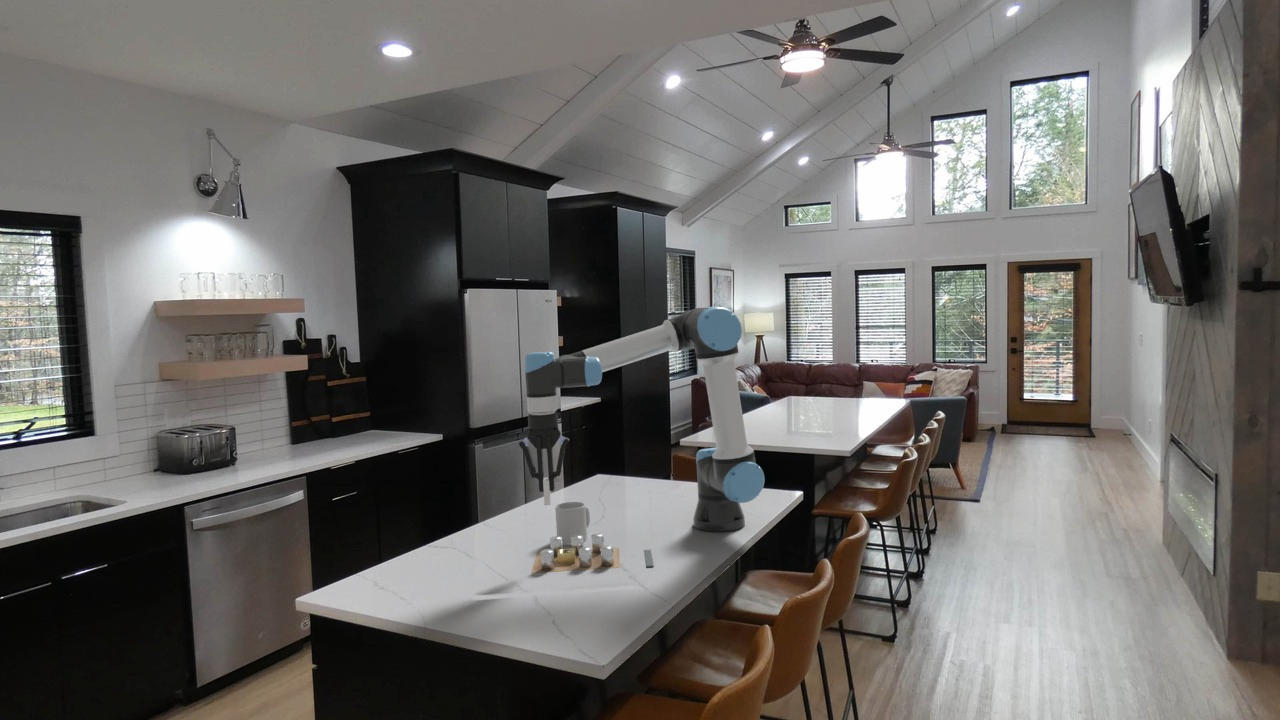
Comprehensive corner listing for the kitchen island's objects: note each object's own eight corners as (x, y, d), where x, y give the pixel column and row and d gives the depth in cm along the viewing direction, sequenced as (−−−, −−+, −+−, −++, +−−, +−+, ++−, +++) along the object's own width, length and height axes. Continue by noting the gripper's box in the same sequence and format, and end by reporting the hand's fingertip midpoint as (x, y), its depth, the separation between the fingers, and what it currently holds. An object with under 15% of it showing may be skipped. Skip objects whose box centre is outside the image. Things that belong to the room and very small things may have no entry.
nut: (576, 557, 197) (575, 547, 197) (575, 563, 192) (574, 553, 192) (559, 558, 197) (558, 549, 196) (558, 564, 192) (557, 554, 192)
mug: (574, 550, 206) (572, 510, 206) (551, 546, 211) (548, 507, 211) (601, 538, 216) (599, 500, 216) (578, 534, 221) (575, 497, 220)
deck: (619, 551, 203) (618, 547, 203) (619, 571, 187) (619, 567, 187) (537, 556, 202) (537, 552, 202) (531, 577, 186) (531, 573, 186)
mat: (650, 550, 202) (650, 549, 202) (653, 567, 189) (653, 565, 189) (621, 552, 202) (620, 551, 202) (621, 569, 189) (621, 567, 189)
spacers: (613, 549, 202) (612, 532, 202) (614, 566, 188) (613, 548, 188) (545, 553, 202) (544, 536, 201) (541, 571, 187) (540, 553, 187)
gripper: (568, 409, 196) (573, 498, 197) (518, 412, 195) (524, 501, 197) (567, 413, 188) (572, 506, 190) (515, 416, 188) (520, 509, 189)
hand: (547, 503), depth 193 cm, fingers closed
